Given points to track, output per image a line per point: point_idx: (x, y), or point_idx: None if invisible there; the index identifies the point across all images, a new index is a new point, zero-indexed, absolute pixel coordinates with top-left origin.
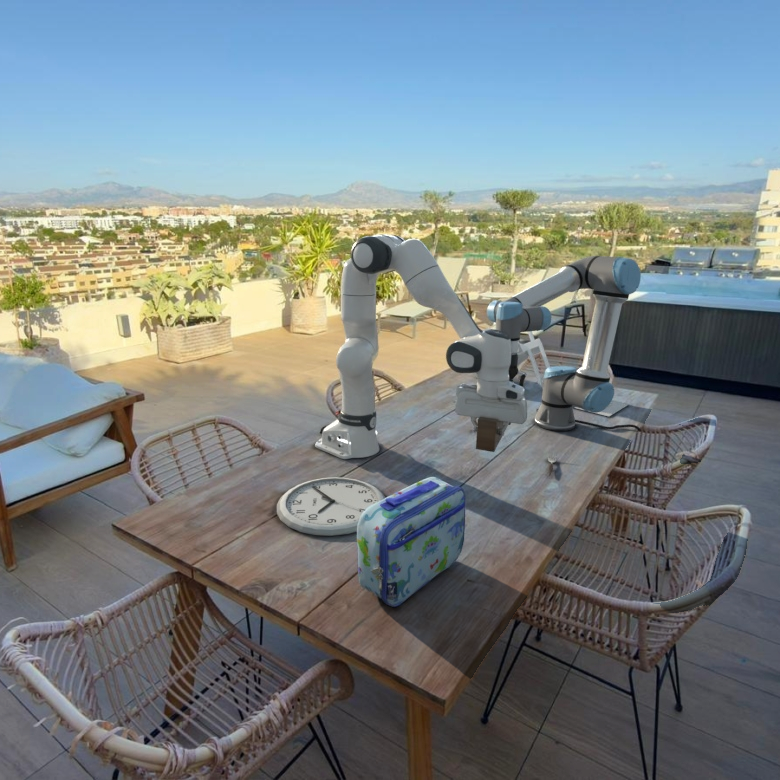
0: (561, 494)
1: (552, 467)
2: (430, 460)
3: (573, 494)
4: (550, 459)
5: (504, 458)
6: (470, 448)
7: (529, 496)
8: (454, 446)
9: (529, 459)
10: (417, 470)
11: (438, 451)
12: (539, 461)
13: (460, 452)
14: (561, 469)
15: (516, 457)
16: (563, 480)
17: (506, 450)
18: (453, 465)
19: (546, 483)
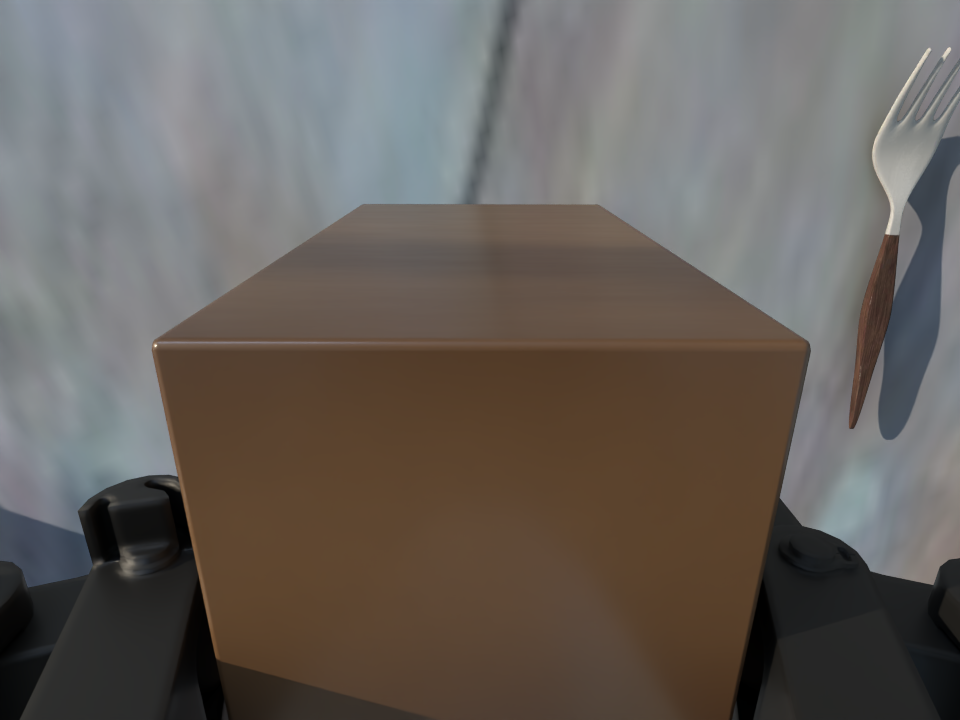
0: None
1: (889, 312)
2: (81, 474)
3: (949, 558)
4: (894, 140)
5: None
6: (232, 158)
7: None
8: (100, 173)
9: (720, 180)
10: None
11: (46, 321)
12: (797, 186)
13: (195, 271)
14: (947, 265)
15: (618, 184)
16: (926, 423)
17: (522, 66)
18: None
19: (814, 496)
